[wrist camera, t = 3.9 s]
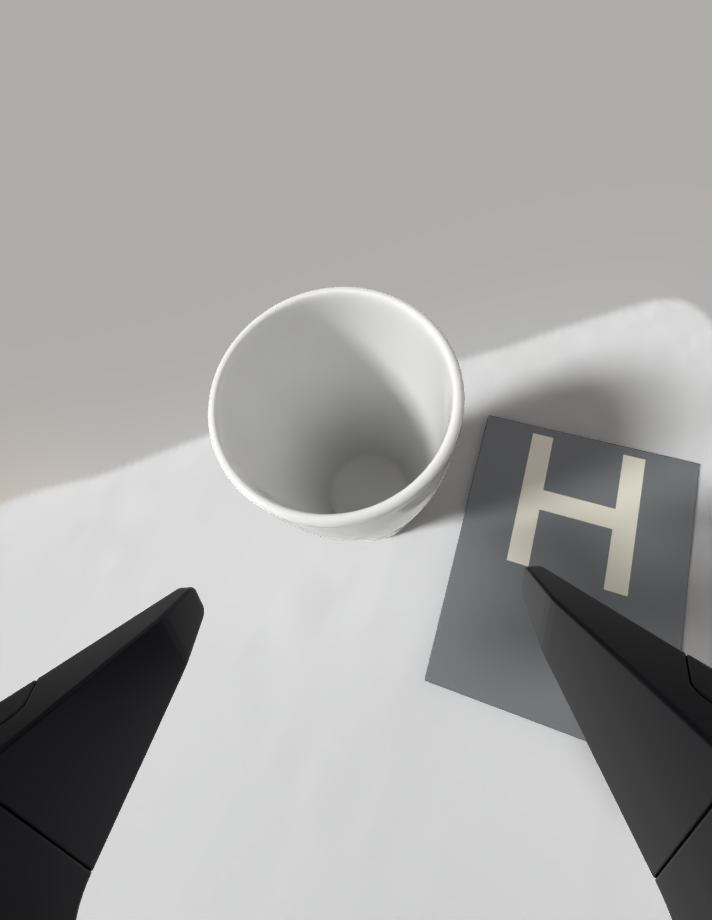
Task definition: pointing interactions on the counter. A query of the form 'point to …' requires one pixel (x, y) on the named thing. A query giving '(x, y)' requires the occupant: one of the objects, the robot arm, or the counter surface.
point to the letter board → (559, 557)
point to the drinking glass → (338, 412)
